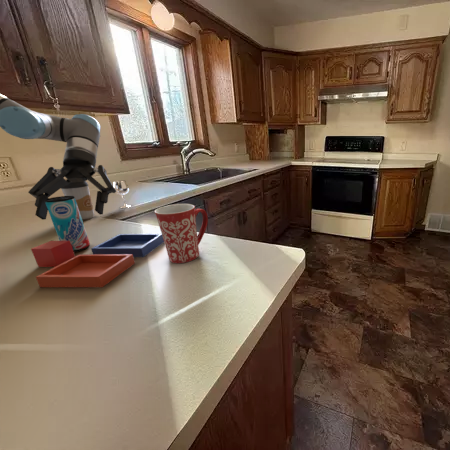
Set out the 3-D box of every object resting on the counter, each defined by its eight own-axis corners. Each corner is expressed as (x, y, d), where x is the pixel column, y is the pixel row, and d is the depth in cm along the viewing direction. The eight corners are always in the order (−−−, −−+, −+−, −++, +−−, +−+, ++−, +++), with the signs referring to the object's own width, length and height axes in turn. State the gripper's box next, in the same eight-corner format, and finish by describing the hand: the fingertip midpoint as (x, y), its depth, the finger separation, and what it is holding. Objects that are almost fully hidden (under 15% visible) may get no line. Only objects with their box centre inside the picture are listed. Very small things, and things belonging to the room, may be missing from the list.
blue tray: (93, 257, 65) (90, 248, 64) (121, 241, 75) (119, 233, 74) (143, 257, 65) (141, 248, 64) (165, 241, 75) (163, 233, 74)
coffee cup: (86, 220, 95) (73, 182, 90) (65, 221, 96) (51, 182, 91) (102, 214, 103) (92, 179, 98) (83, 214, 103) (72, 179, 98)
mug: (176, 269, 59) (165, 215, 54) (159, 259, 64) (147, 209, 59) (220, 250, 68) (214, 203, 63) (202, 243, 73) (195, 199, 69)
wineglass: (131, 204, 119) (125, 179, 115) (134, 206, 115) (128, 181, 111) (117, 206, 115) (110, 181, 111) (119, 209, 111) (112, 182, 107)
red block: (38, 267, 61) (30, 248, 59) (57, 257, 65) (51, 240, 64) (57, 267, 61) (50, 248, 59) (75, 257, 65) (69, 240, 64)
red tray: (40, 287, 52) (35, 276, 51) (82, 263, 62) (79, 254, 61) (102, 287, 52) (98, 276, 51) (135, 263, 62) (132, 254, 61)
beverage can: (62, 255, 67) (42, 202, 62) (65, 248, 71) (46, 197, 66) (89, 249, 70) (73, 198, 65) (91, 243, 74) (75, 194, 69)
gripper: (130, 162, 84) (126, 216, 76) (40, 166, 77) (25, 225, 69) (121, 146, 78) (115, 203, 69) (21, 149, 71) (2, 212, 62)
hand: (70, 214), depth 69 cm, fingers open, 13 cm apart
